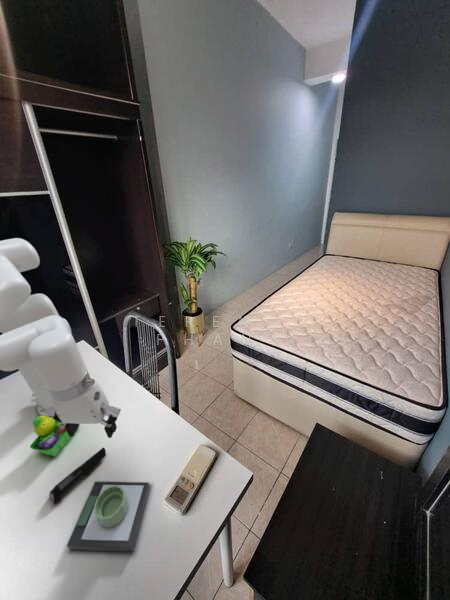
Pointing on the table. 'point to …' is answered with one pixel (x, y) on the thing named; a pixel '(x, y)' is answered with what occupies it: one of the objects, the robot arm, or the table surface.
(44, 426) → the fruit basket
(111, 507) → the bowl
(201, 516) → the table surface
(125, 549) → the scale
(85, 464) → the electric trimmer
